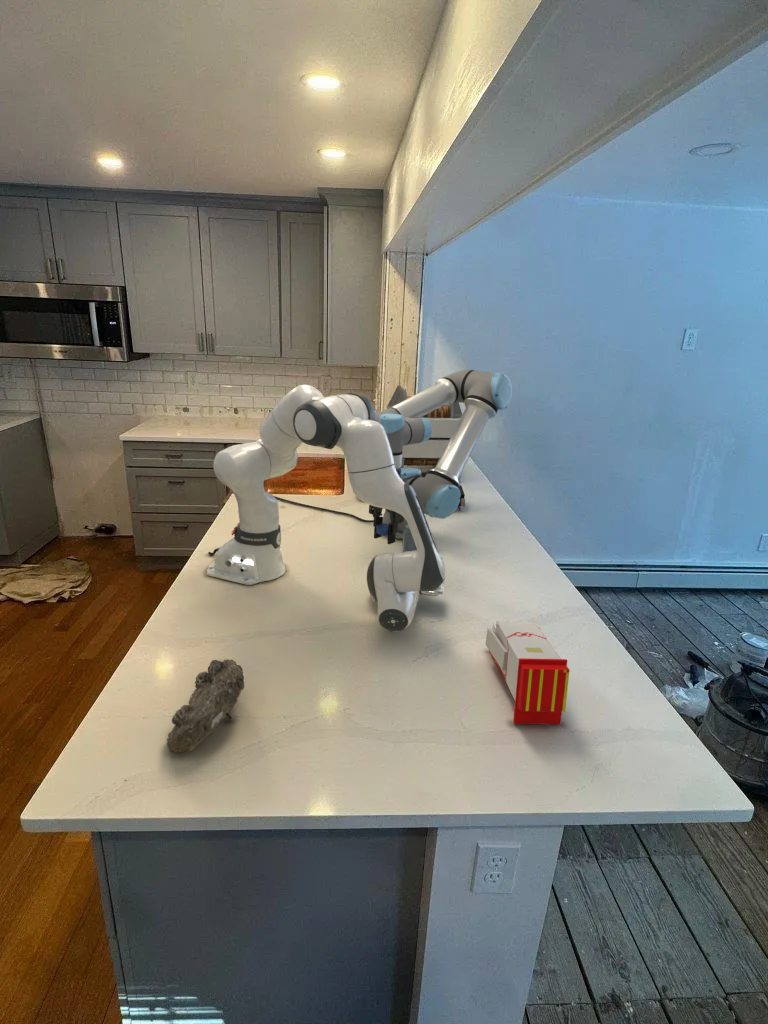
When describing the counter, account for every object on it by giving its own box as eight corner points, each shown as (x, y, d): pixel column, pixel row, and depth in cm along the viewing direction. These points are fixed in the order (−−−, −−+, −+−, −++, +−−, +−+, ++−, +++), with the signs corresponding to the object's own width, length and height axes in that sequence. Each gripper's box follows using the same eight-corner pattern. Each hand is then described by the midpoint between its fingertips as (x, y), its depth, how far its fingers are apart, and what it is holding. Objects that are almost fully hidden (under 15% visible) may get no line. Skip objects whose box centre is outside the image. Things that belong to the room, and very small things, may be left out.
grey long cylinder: (397, 586, 162) (400, 524, 156) (412, 584, 164) (416, 522, 157) (404, 594, 158) (408, 530, 151) (419, 591, 160) (424, 528, 153)
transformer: (382, 463, 289) (386, 382, 275) (445, 464, 293) (451, 384, 279) (390, 482, 257) (394, 392, 243) (460, 483, 261) (468, 394, 247)
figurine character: (465, 515, 224) (460, 499, 237) (467, 498, 221) (462, 483, 234) (448, 515, 224) (444, 499, 237) (450, 498, 220) (445, 482, 234)
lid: (390, 536, 171) (390, 530, 170) (373, 534, 172) (374, 527, 172) (395, 531, 176) (395, 524, 175) (379, 528, 177) (379, 522, 176)
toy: (532, 606, 134) (578, 666, 105) (527, 658, 137) (571, 730, 108) (481, 605, 134) (513, 664, 105) (478, 657, 137) (508, 730, 107)
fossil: (192, 660, 117) (244, 628, 112) (224, 691, 120) (276, 661, 115) (142, 746, 98) (202, 712, 93) (182, 779, 101) (242, 748, 96)
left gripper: (443, 584, 144) (447, 562, 157) (365, 575, 147) (375, 554, 160) (441, 606, 146) (445, 582, 159) (364, 596, 149) (374, 574, 162)
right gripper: (358, 462, 171) (355, 534, 178) (402, 476, 159) (397, 552, 166) (376, 459, 176) (372, 529, 183) (420, 472, 164) (414, 546, 172)
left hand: (409, 568), depth 160 cm, fingers closed on grey long cylinder, 5 cm apart
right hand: (384, 539), depth 175 cm, fingers closed on lid, 5 cm apart
